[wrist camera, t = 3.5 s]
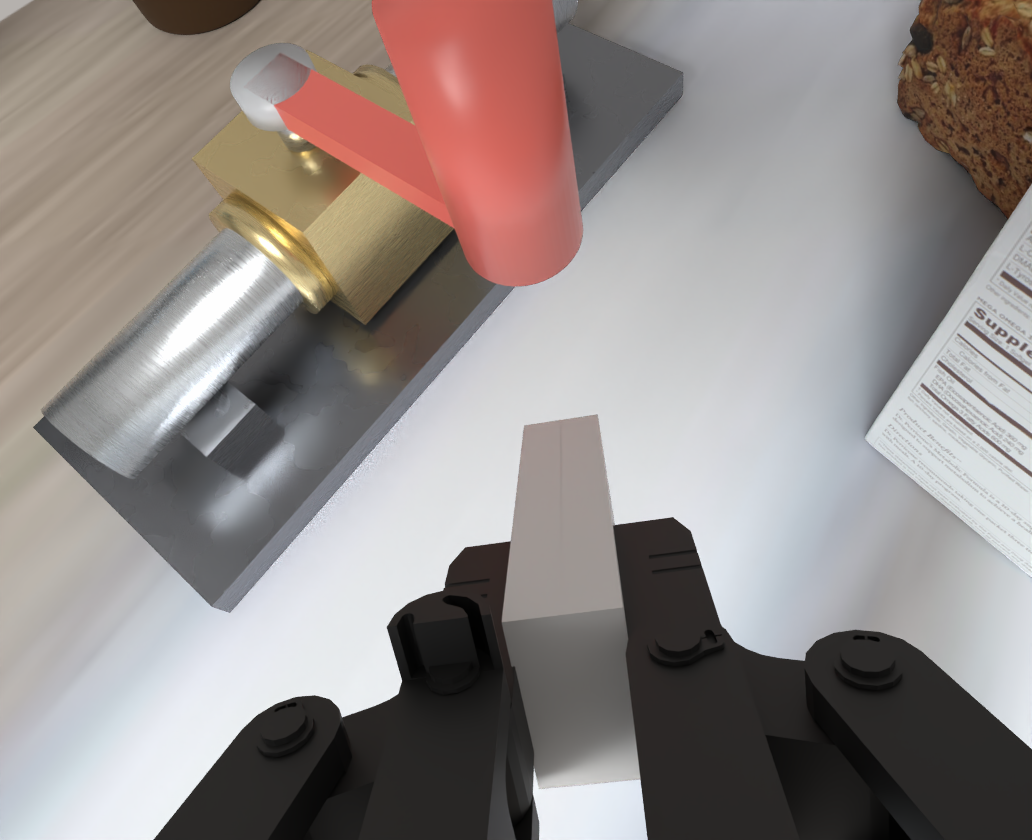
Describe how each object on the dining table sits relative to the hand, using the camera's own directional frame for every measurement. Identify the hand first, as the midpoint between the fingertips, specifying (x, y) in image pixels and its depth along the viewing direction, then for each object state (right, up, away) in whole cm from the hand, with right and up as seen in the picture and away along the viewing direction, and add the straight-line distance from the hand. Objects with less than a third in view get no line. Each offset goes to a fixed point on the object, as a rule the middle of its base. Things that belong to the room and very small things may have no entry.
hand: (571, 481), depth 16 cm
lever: (-5, +10, +12) cm, 16 cm away
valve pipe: (-8, +9, +24) cm, 27 cm away
